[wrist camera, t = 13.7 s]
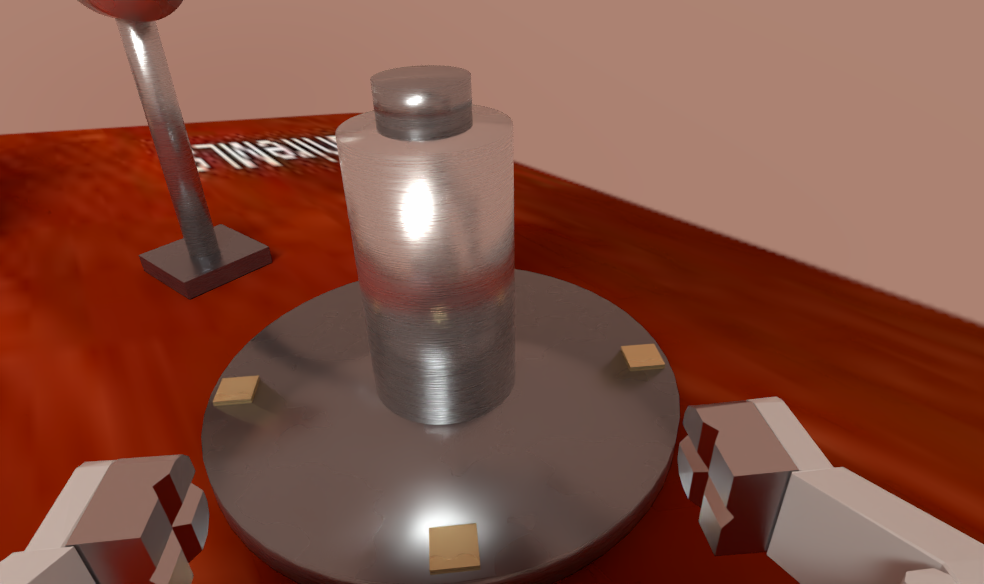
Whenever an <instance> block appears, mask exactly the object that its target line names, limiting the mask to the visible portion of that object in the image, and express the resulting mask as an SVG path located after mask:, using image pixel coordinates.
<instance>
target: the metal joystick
mask: <svg viewBox="0 0 984 584" xmlns="http://www.w3.org/2000/svg"><path fill="white" fill-rule="evenodd" d="M78 1H79V2H80V3H82V4H83V5H84V6H86V7H88V8H89V9H91V10H93V11H95V12H97V13H99V14H102V15H105V16H108V17H112V18H115V20H116V23H117V26H118V29H119V33H120V36H121V39H122V42H123V45H124V48H125V51H126V55H127V58H128V61H129V64H130V68H131V71H132V74H133V77H134V80H135V84H136V87H137V90H138V93H139V96H140V100H141V103H142V106H143V109H144V112H145V116H146V119H147V122H148V125H149V128H150V132H151V135H152V138H153V141H154V144H155V148H156V151H157V154H158V157H159V160H160V164H161V167H162V170H163V173H164V176H165V180H166V183H167V186H168V189H169V192H170V196H171V199H172V202H173V205H174V208H175V212H176V215H177V218H178V221H179V224H180V228H181V231H182V234H183V237H184V238H183V239H180V240H178V241H175V242H172V243H170V244H167V245H164V246H162V247H159V248H156V249H154V250H151V251H149V252H146V253H143V254H141V255H139V257H140V260H141V263H142V266H143V268H144V271H145V272H147V273H148V274H150V275H152V276H153V277H155V278H156V279H158V280H160V281H161V282H163V283H164V284H166V285H168V286H169V287H171V288H172V289H174V290H175V291H177V292H179V293H180V294H182V295H183V296H185V297H187V298H188V299H191V298H193V297H196V296H198V295H200V294H202V293H205V292H207V291H209V290H211V289H214V288H216V287H218V286H220V285H223V284H225V283H227V282H229V281H231V280H234V279H236V278H238V277H240V276H243V275H245V274H247V273H249V272H252V271H254V270H256V269H258V268H261V267H263V266H265V265H267V264H270V263H272V259H271V254H270V250H269V247H268V246H266V245H264V244H262V243H260V242H258V241H256V240H254V239H252V238H249V237H247V236H245V235H243V234H241V233H239V232H237V231H235V230H233V229H230V228H228V227H226V226H224V225H222V224H220V225H217V226H215V227H213V224H212V220H211V217H210V213H209V210H208V206H207V202H206V199H205V195H204V192H203V188H202V185H201V181H200V178H199V174H198V171H197V167H196V163H195V160H194V156H193V153H192V149H191V146H190V142H189V139H188V135H187V132H186V128H185V124H184V121H183V118H182V114H181V110H180V107H179V103H178V100H177V96H176V93H175V90H174V86H173V82H172V78H171V75H170V72H169V68H168V65H167V61H166V57H165V54H164V50H163V47H162V43H161V40H160V36H159V32H158V29H157V25H156V22H155V21H156V20H159V19H162V18H164V17H166V16H168V15H170V14H171V13H172V12H173V11H175V10H176V9H177V8H178V7H179V5H180V4H181V3H182V1H183V0H78Z"/></svg>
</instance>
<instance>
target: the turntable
mask: <svg viewBox="0 0 984 584" xmlns="http://www.w3.org/2000/svg"><path fill="white" fill-rule="evenodd" d="M514 273H515V373H516V376H515V383H514V386H513V389H512V391H511V393H510V394H509V396H508V397H507V398H506V399H505V400H504V401H503V402H502V403H501V404H500V405H499V406H498V407H496V408H495V409H494V410H492V411H490V412H488V413H487V414H485V415H482V416H480V417H478V418H475V419H472V420H469V421H465V422H461V423H454V424H443V425H435V424H424V423H418V422H414V421H410V420H408V419H405V418H402V417H400V416H398V415H397V414H395V413H393V412H392V411H390V410H389V409H388V408H387V407H386V406H385V405H384V404H383V403H382V401H381V400H380V398H379V396H378V394H377V390H376V385H375V379H374V373H373V366H372V360H371V354H370V348H369V341H368V335H367V329H366V323H365V316H364V310H363V304H362V298H361V291H360V285H359V281H357V282H353V283H350V284H347V285H344V286H342V287H339V288H337V289H334V290H331V291H329V292H326V293H324V294H322V295H320V296H318V297H315V298H313V299H311V300H309V301H307V302H305V303H303V304H301V305H300V306H298V307H296V308H294V309H293V310H291V311H289V312H287V313H286V314H284V315H283V316H281V317H280V318H278V319H277V320H276V321H274V322H273V323H271V324H270V325H268V326H267V327H266V328H265V329H263V330H262V331H261V332H260V333H259V334H257V335H256V336H255V337H254V338H253V339H252V340H250V341H249V342H248V343H247V344H246V346H245V347H244V348H243V349H242V350H241V351H240V352H239V353H238V354H237V355H236V356H235V357H234V358H233V360H232V361H231V363H230V364H229V365H228V367H227V368H226V369H225V371H224V372H223V373H222V375H221V377H220V378H219V380H218V382H217V384H216V386H215V388H214V390H213V392H212V394H211V396H210V399H209V402H208V405H207V408H206V411H205V414H204V421H203V428H202V436H201V439H202V451H203V460H204V464H205V467H206V470H207V474H208V477H209V480H210V483H211V486H212V488H213V491H214V494H215V497H216V499H217V502H218V505H219V507H220V509H221V511H222V512H223V514H224V516H225V518H226V520H227V521H228V523H229V525H230V527H231V529H232V530H233V531H234V532H235V533H236V535H237V536H238V537H239V538H240V539H241V540H242V542H243V543H244V544H245V545H246V546H247V547H248V549H249V550H250V551H251V552H253V553H254V554H255V555H256V556H258V557H259V558H260V559H261V560H263V561H264V562H265V563H266V564H268V565H269V566H270V567H271V568H273V569H274V570H275V571H277V572H279V573H281V574H283V575H284V576H286V577H288V578H290V579H292V580H294V581H295V582H297V583H299V584H551V583H553V582H556V581H558V580H560V579H562V578H564V577H567V576H569V575H571V574H573V573H575V572H576V571H578V570H580V569H581V568H583V567H584V566H586V565H588V564H589V563H591V562H593V561H594V560H596V559H597V558H599V557H601V556H602V555H604V554H605V553H606V552H607V551H608V550H610V549H611V548H612V547H613V546H614V545H616V544H617V543H618V542H619V541H620V540H622V539H623V538H624V537H625V536H626V535H627V534H629V533H630V531H631V530H632V529H633V528H634V527H635V526H636V524H637V523H638V522H639V521H640V520H641V519H642V518H643V516H644V515H645V514H646V513H647V512H648V511H649V509H650V507H651V506H652V504H653V502H654V501H655V499H656V497H657V496H658V494H659V493H660V491H661V489H662V488H663V485H664V482H665V480H666V477H667V475H668V472H669V469H670V467H671V464H672V459H673V453H674V447H675V441H676V436H677V430H678V424H679V418H680V408H679V393H678V389H677V385H676V380H675V376H674V374H673V371H672V369H671V367H670V365H669V362H668V360H667V358H666V356H665V355H664V353H663V352H662V350H661V349H660V347H659V346H658V344H657V343H656V341H655V340H654V339H653V338H652V337H651V335H650V334H649V333H648V332H647V331H646V330H645V329H644V328H643V327H642V325H640V324H639V323H638V322H637V321H636V320H634V319H633V318H632V317H631V316H630V315H628V314H627V313H626V312H625V311H623V310H622V309H620V308H619V307H617V306H616V305H614V304H613V303H611V302H610V301H608V300H606V299H604V298H602V297H600V296H598V295H597V294H595V293H593V292H591V291H589V290H586V289H584V288H581V287H579V286H577V285H574V284H572V283H569V282H566V281H563V280H560V279H556V278H553V277H550V276H546V275H542V274H538V273H533V272H529V271H523V270H517V269H514Z"/></svg>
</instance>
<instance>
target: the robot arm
mask: <svg viewBox="0 0 984 584" xmlns="http://www.w3.org/2000/svg"><path fill="white" fill-rule="evenodd" d="M683 425H684V427H685V429H686V431H687V433H688V435H687V436H686V437H685V438H684V439H683V440H682V441H681V442H680V443H679V451H678V467H679V475H680V479H681V482H682V486H683V488H684V490H685V493H686V495H687V497H688V499H689V500H690V501H692V502H693V503H694V504H696V505H697V506H699V507H700V508H701V511H700V517H699V523H700V526H701V528H702V530H703V532H704V534H705V536H706V538H707V541H708V543H709V545H710V547H711V549H712V551H713V553H714V555H715V556H723V555H735V554H747V553H759V552H767V554H766V555H768V556H769V557H770V558H771V559H772V560H773V561H775V562H776V563H777V564H778V565H779V566H781V567H782V568H783V569H784V570H785V571H786V572H788V573H789V574H790V575H791V576H792V577H793V578H795V579H796V580H797V581H798V582H799V583H800V584H984V544H982V543H980V542H978V541H976V540H975V539H973V538H971V537H969V536H967V535H966V534H964V533H962V532H960V531H958V530H957V529H955V528H953V527H951V526H949V525H947V524H946V523H944V522H942V521H940V520H938V519H937V518H935V517H933V516H931V515H929V514H927V513H926V512H924V511H922V510H920V509H918V508H917V507H915V506H913V505H911V504H909V503H907V502H906V501H904V500H902V499H900V498H898V497H897V496H895V495H893V494H891V493H889V492H888V491H886V490H884V489H882V488H880V487H878V486H877V485H875V484H873V483H871V482H869V481H868V480H866V479H864V478H862V477H860V476H858V475H857V474H855V473H853V472H851V471H849V470H848V469H846V468H844V467H836V468H834V467H833V466H832V464H831V463H830V462H829V460H828V459H827V458H826V457H825V455H824V454H823V453H822V451H821V450H820V449H819V447H818V446H817V445H816V443H815V442H814V441H813V439H812V438H811V437H810V435H809V434H808V433H807V432H806V430H805V429H804V428H803V426H802V425H801V424H800V422H799V421H798V420H797V418H796V417H795V416H794V414H793V413H792V412H791V410H790V409H789V408H788V407H787V405H786V404H785V403H784V401H783V400H781V399H780V398H778V397H768V398H759V399H750V400H746V401H733V402H723V403H714V404H704V405H695V406H688V408H687V410H686V411H685V414H684V420H683ZM194 473H195V469H194V467H193V465H192V463H191V460H190V458H189V456H185V455H168V456H154V457H140V458H126V459H118V460H108V461H93V462H85V463H83V464H82V465H80V466H79V467H77V468H76V469H75V471H74V472H73V474H72V476H71V477H70V479H69V480H68V482H67V484H66V485H65V487H64V488H63V490H62V492H61V493H60V495H59V496H58V498H57V500H56V501H55V503H54V504H53V506H52V508H51V509H50V511H49V512H48V514H47V516H46V517H45V519H44V520H43V522H42V524H41V525H40V527H39V528H38V530H37V532H36V533H35V535H34V536H33V538H32V540H31V541H30V543H29V544H28V546H27V548H26V549H25V551H23V552H15V553H12V554H11V555H9V556H8V557H7V558H5V559H4V560H3V561H1V562H0V584H191V582H192V579H193V576H194V575H193V573H192V571H191V569H190V566H189V564H188V563H189V562H190V561H192V560H193V559H194V558H195V557H196V556H197V555H198V554H199V553H200V552H201V551H202V550H203V547H204V543H205V540H206V537H207V534H208V523H209V510H208V503H207V500H206V497H205V494H204V492H203V490H201V489H200V488H198V487H197V486H195V485H194V484H192V483H191V481H192V478H193V476H194Z"/></svg>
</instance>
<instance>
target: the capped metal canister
mask: <svg viewBox="0 0 984 584" xmlns="http://www.w3.org/2000/svg"><path fill="white" fill-rule="evenodd" d="M370 80H371V88H372V96H373V105H374V110H373V111H369V112H366V113H363V114H360V115H357V116H355V117H352V118H350V119H348V120H347V121H345V122H343V123H342V124H341V125H340V126H339V127H338V128H337V130H336V134H335V135H336V141H337V147H338V154H339V160H340V166H341V172H342V179H343V185H344V191H345V197H346V204H347V210H348V216H349V222H350V229H351V235H352V241H353V247H354V254H355V260H356V266H357V273H358V279H359V285H360V291H361V298H362V304H363V310H364V316H365V323H366V329H367V335H368V341H369V348H370V354H371V360H372V366H373V373H374V379H375V385H376V390H377V394H378V396H379V398H380V400H381V401H382V403H383V404H384V405H385V406H386V407H387V408H388V409H389V410H390V411H392V412H393V413H395V414H397V415H398V416H400V417H402V418H405V419H408V420H410V421H414V422H418V423H424V424H435V425H443V424H454V423H461V422H465V421H469V420H472V419H475V418H478V417H480V416H482V415H485V414H487V413H488V412H490V411H492V410H494V409H495V408H496V407H498V406H499V405H500V404H501V403H502V402H503V401H504V400H505V399H506V398H507V397H508V396H509V394H510V393H511V391H512V389H513V386H514V383H515V376H516V373H515V273H514V172H513V122H512V120H511V118H510V117H509V116H508V115H506V114H504V113H503V112H500V111H498V110H495V109H492V108H488V107H484V106H479V105H472V93H471V73H470V72H469V71H467V70H465V69H462V68H457V67H451V66H434V65H433V66H432V65H431V66H430V65H429V66H410V67H402V68H396V69H391V70H386V71H383V72H380V73H377V74H375V75H373V76H372V77H371V79H370Z"/></svg>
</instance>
